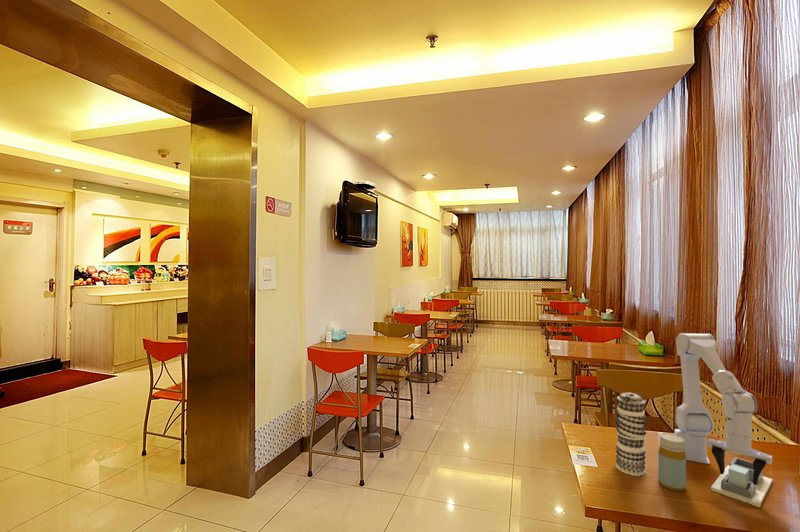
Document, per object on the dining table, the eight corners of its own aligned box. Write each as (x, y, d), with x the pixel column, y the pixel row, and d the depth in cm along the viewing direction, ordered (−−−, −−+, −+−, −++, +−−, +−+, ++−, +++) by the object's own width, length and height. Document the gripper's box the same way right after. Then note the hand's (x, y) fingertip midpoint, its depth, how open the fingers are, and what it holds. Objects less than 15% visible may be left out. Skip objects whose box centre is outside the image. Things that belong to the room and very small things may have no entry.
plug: (745, 494, 116) (745, 474, 116) (728, 488, 119) (728, 468, 119) (748, 488, 119) (749, 468, 119) (731, 482, 122) (732, 463, 122)
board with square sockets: (759, 507, 111) (759, 490, 111) (711, 490, 120) (711, 473, 120) (772, 482, 124) (772, 466, 124) (727, 468, 132) (727, 453, 132)
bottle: (677, 494, 117) (678, 444, 117) (653, 482, 124) (653, 435, 123) (690, 488, 121) (690, 439, 120) (666, 477, 127) (666, 430, 127)
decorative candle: (618, 474, 129) (619, 398, 128) (611, 460, 138) (612, 389, 137) (650, 478, 126) (651, 400, 126) (641, 464, 135) (641, 391, 135)
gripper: (705, 428, 121) (704, 472, 121) (769, 445, 110) (768, 494, 110) (711, 422, 126) (711, 465, 126) (773, 438, 114) (773, 484, 115)
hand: (738, 478), depth 118 cm, fingers open, 7 cm apart
